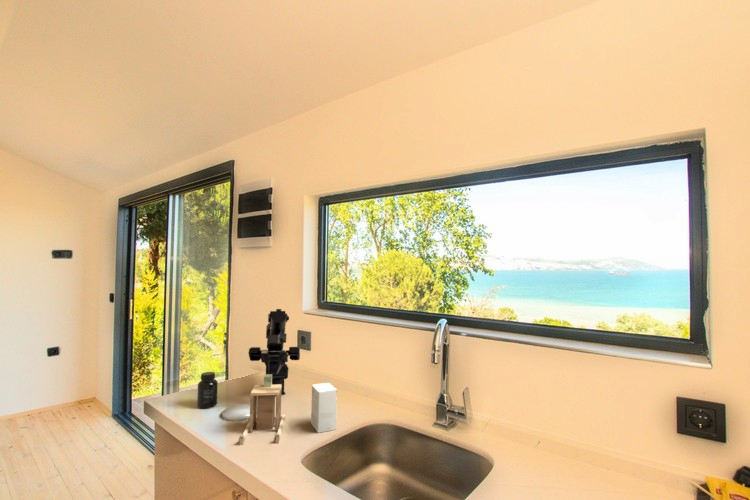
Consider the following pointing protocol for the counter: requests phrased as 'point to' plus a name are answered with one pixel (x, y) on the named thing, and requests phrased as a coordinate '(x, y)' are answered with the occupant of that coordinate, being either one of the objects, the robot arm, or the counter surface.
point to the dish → (237, 412)
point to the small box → (323, 407)
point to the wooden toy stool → (265, 390)
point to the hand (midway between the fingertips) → (272, 374)
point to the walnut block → (265, 412)
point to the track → (243, 437)
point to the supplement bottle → (207, 391)
